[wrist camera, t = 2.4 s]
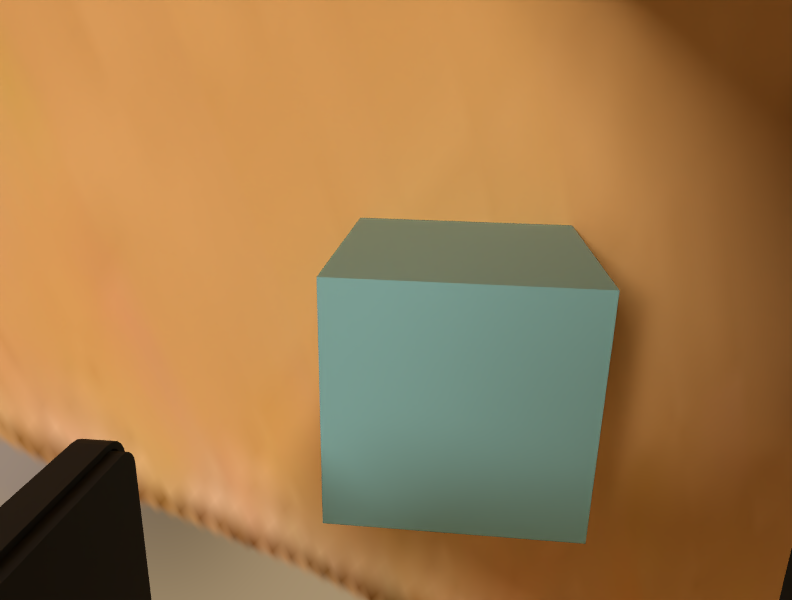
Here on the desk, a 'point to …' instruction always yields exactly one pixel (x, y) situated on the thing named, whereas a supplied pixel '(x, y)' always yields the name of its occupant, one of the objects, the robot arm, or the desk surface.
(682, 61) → the desk surface
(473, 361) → the teal cube
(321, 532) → the desk surface
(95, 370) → the desk surface
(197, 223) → the desk surface
